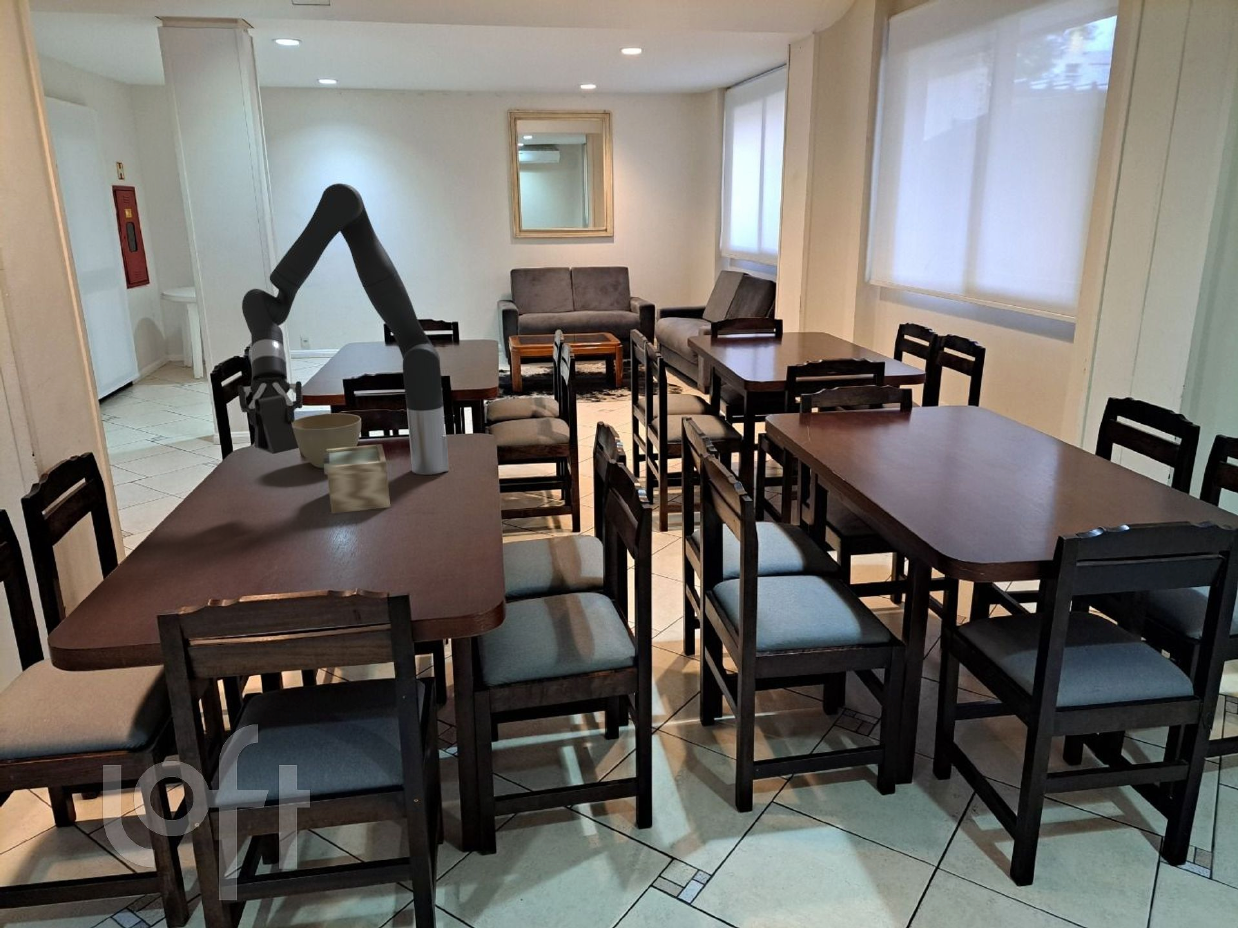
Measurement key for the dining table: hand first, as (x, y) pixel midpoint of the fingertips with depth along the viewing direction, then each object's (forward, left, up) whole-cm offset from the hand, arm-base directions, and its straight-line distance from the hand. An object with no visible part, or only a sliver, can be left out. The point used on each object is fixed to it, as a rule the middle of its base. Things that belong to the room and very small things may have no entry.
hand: (272, 424), depth 193 cm
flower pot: (-11, -34, -20) cm, 41 cm away
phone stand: (0, -2, -6) cm, 6 cm away
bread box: (-17, -1, -20) cm, 27 cm away
